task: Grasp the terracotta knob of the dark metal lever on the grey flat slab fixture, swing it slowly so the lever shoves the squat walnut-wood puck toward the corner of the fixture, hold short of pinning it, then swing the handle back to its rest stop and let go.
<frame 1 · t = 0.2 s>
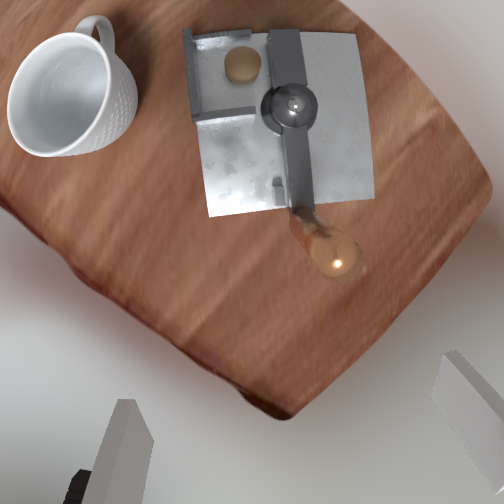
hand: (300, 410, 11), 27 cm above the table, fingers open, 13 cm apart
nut: (241, 70, 30), point 2 cm above the table, touching grey flat slab fixture
mug: (109, 99, 31), on the table
grey flat slab fixture: (285, 112, 33), on the table
lever: (308, 128, 25), point 10 cm above the table, hinge at 0.0°
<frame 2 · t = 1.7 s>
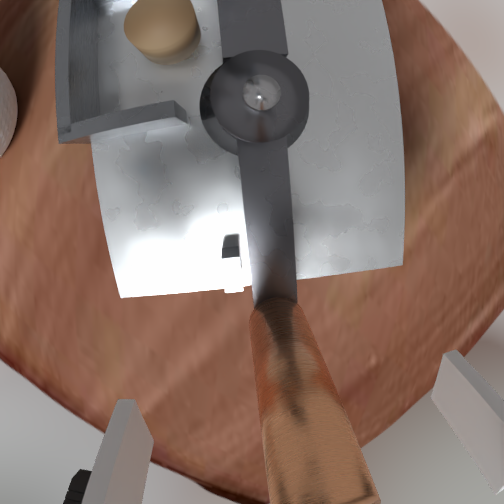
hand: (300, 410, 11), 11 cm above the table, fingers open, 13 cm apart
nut: (170, 37, 15), point 2 cm above the table, touching grey flat slab fixture
grey flat slab fixture: (251, 110, 18), on the table
lever: (279, 152, 10), point 10 cm above the table, hinge at 0.0°
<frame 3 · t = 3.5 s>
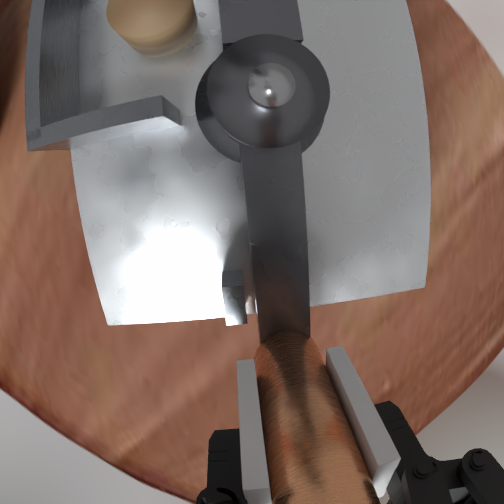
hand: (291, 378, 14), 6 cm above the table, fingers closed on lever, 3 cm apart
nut: (161, 25, 12), point 2 cm above the table, touching grey flat slab fixture
grey flat slab fixture: (257, 110, 16), on the table
lever: (299, 162, 7), point 10 cm above the table, hinge at 0.0°, touching gripper
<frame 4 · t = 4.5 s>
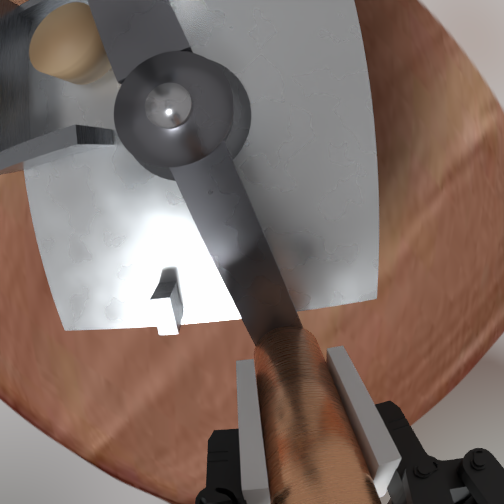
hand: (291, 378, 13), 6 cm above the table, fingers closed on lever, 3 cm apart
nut: (88, 53, 12), point 2 cm above the table, touching lever
grey flat slab fixture: (192, 122, 16), on the table
lever: (183, 183, 7), point 10 cm above the table, hinge at 16.7°, touching gripper, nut
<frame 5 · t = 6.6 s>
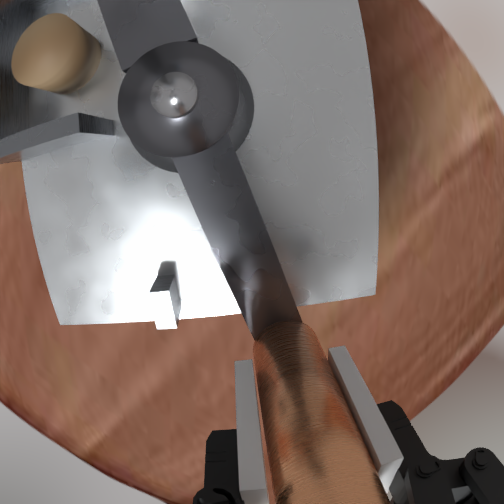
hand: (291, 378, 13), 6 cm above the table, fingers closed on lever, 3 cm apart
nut: (70, 62, 12), point 2 cm above the table, touching grey flat slab fixture
grey flat slab fixture: (193, 115, 15), on the table
lever: (192, 169, 7), point 10 cm above the table, hinge at 16.5°, touching gripper
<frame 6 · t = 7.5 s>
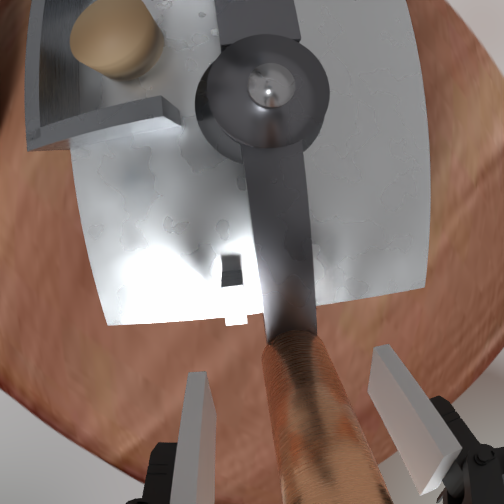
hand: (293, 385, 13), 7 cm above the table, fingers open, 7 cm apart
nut: (129, 48, 12), point 2 cm above the table, touching grey flat slab fixture
grey flat slab fixture: (256, 110, 16), on the table
lever: (302, 162, 7), point 10 cm above the table, hinge at 1.8°
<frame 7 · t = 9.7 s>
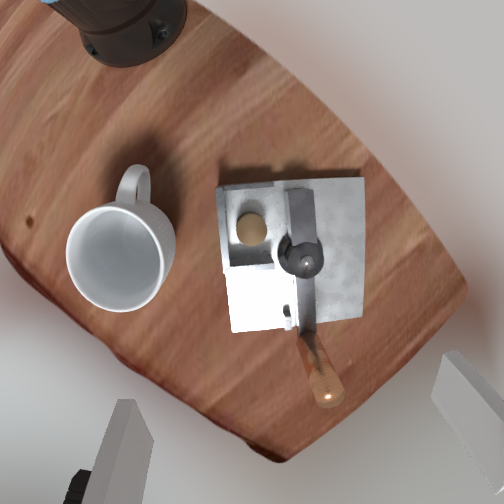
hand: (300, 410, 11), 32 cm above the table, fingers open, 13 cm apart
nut: (250, 226, 40), point 2 cm above the table, touching grey flat slab fixture
mug: (146, 226, 41), on the table
grey flat slab fixture: (296, 248, 43), on the table
lever: (315, 294, 34), point 10 cm above the table, hinge at 1.8°
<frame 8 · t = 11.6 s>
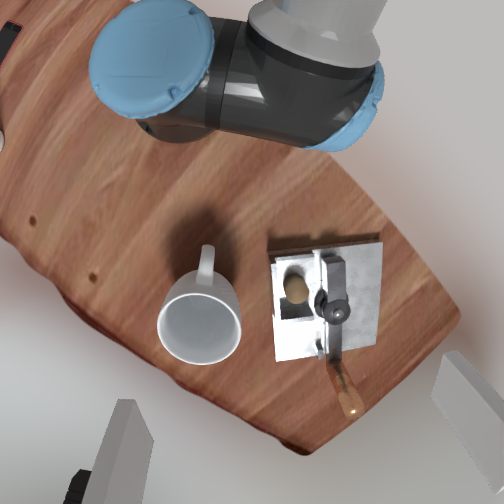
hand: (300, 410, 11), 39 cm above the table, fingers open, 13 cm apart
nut: (293, 284, 50), point 2 cm above the table, touching grey flat slab fixture
mug: (206, 283, 51), on the table
grey flat slab fixture: (327, 297, 53), on the table
lever: (344, 339, 45), point 10 cm above the table, hinge at 1.8°
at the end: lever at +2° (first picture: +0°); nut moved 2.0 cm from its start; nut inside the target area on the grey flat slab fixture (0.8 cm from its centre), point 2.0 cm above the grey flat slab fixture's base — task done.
